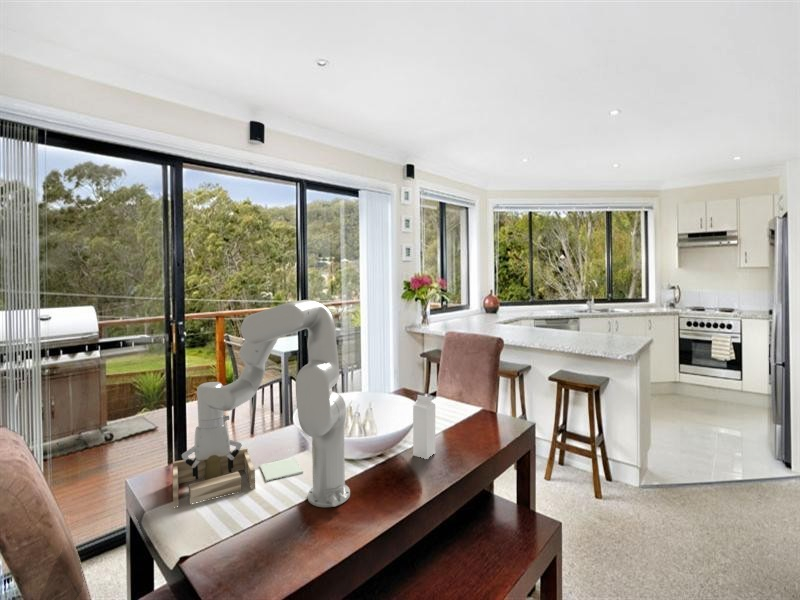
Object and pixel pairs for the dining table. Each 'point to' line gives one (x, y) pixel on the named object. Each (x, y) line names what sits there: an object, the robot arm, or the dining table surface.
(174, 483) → the rack
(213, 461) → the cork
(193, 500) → the offcut low
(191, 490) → the offcut top
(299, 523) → the dining table surface
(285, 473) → the tile
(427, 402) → the milk
